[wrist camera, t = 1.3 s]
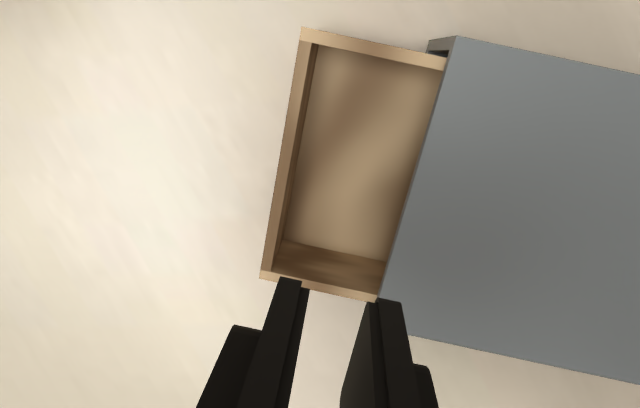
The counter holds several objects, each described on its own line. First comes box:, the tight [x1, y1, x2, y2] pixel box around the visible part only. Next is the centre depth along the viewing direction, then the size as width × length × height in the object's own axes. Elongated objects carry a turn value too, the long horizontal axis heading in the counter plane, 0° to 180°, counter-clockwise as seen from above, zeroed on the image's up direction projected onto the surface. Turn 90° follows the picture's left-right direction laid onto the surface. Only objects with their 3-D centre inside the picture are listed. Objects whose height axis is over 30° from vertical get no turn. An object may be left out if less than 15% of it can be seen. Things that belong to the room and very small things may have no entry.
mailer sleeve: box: [377, 36, 640, 385], centre depth 24 cm, size 20×16×7 cm
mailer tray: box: [259, 27, 447, 303], centre depth 24 cm, size 19×14×5 cm
